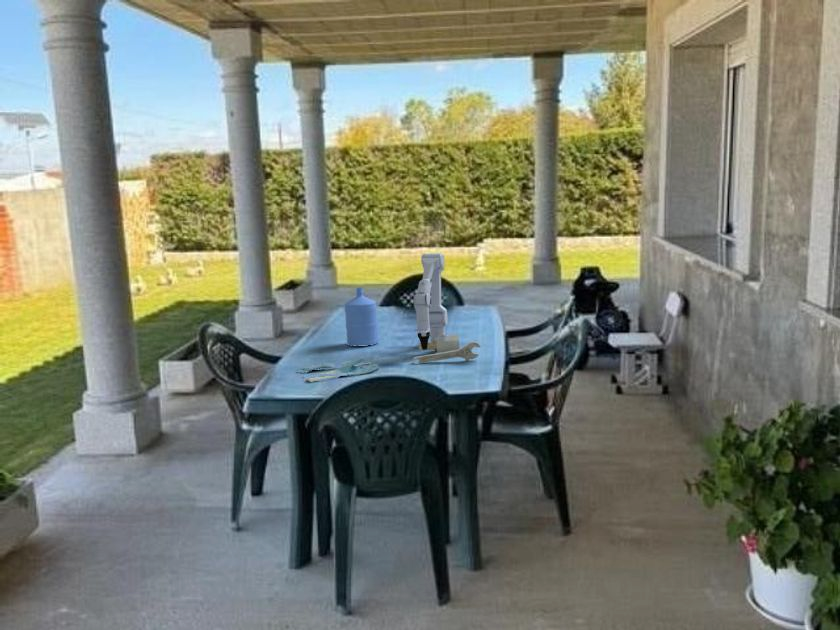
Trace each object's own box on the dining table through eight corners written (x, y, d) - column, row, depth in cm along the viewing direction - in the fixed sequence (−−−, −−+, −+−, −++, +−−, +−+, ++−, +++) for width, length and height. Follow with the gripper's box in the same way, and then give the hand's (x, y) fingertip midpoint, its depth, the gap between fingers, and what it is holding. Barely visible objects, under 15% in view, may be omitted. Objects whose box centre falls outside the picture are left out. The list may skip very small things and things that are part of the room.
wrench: (414, 369, 334) (482, 358, 333) (414, 370, 332) (482, 359, 331) (411, 352, 332) (479, 340, 332) (411, 352, 331) (479, 341, 330)
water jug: (374, 347, 370) (370, 290, 366) (343, 347, 374) (339, 290, 369) (382, 340, 386) (378, 285, 381) (352, 341, 389) (348, 286, 384)
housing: (436, 350, 357) (435, 335, 355) (458, 348, 357) (457, 334, 355) (437, 356, 343) (436, 341, 342) (459, 355, 343) (458, 340, 342)
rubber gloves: (292, 371, 334) (291, 356, 333) (363, 360, 346) (362, 346, 345) (309, 384, 309) (308, 369, 308) (385, 372, 321) (384, 357, 320)
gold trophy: (419, 352, 353) (418, 338, 352) (449, 350, 353) (449, 336, 352) (419, 355, 347) (418, 341, 346) (450, 353, 346) (449, 339, 345)
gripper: (414, 317, 354) (415, 345, 357) (414, 322, 340) (415, 352, 342) (429, 316, 354) (431, 345, 357) (429, 322, 340) (431, 351, 342)
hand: (424, 348), depth 349 cm, fingers closed on gold trophy, 2 cm apart
